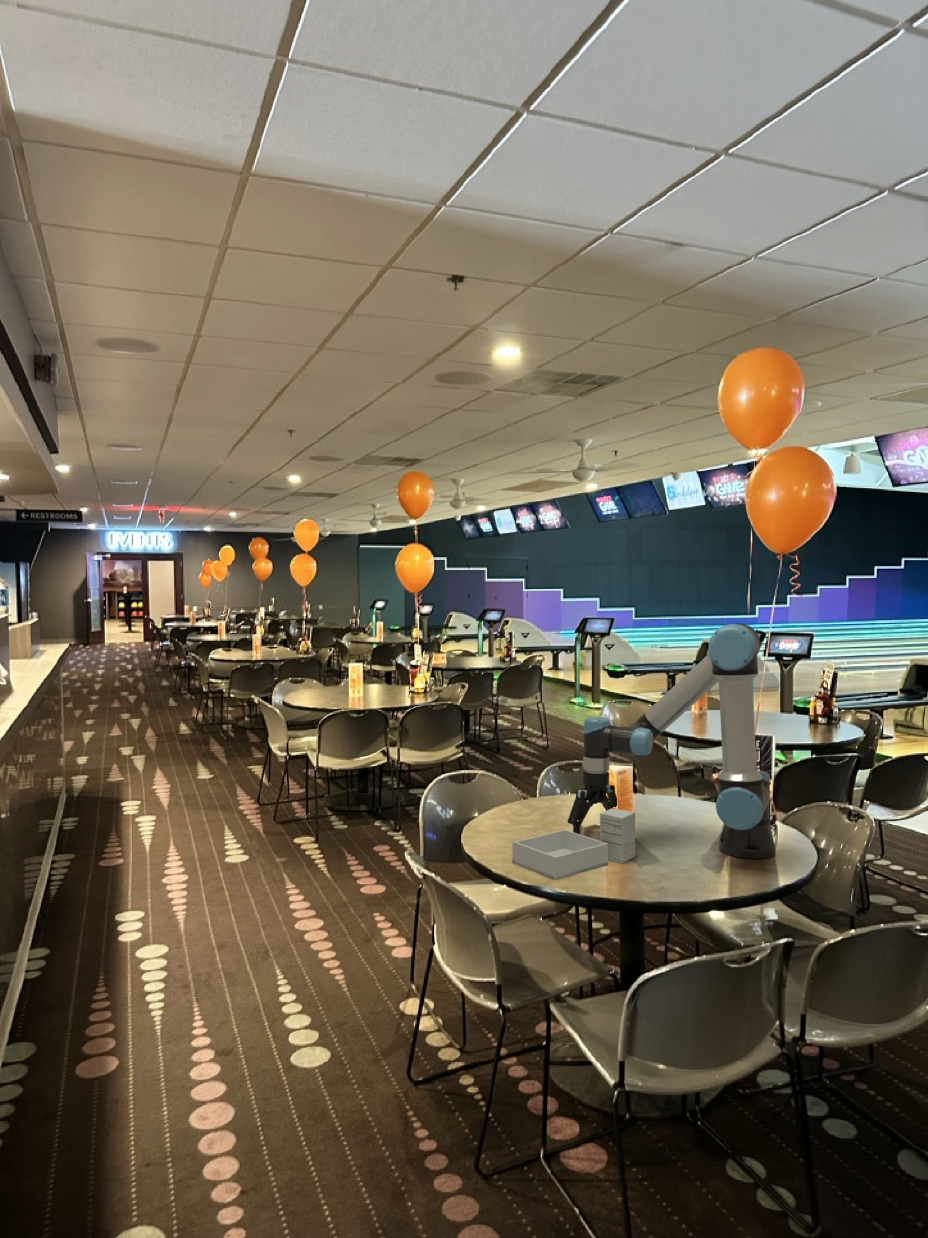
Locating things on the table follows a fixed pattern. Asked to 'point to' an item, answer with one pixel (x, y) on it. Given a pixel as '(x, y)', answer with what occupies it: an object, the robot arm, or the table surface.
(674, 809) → the table surface
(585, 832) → the maple block
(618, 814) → the supplement box
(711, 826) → the table surface
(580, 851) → the tote
